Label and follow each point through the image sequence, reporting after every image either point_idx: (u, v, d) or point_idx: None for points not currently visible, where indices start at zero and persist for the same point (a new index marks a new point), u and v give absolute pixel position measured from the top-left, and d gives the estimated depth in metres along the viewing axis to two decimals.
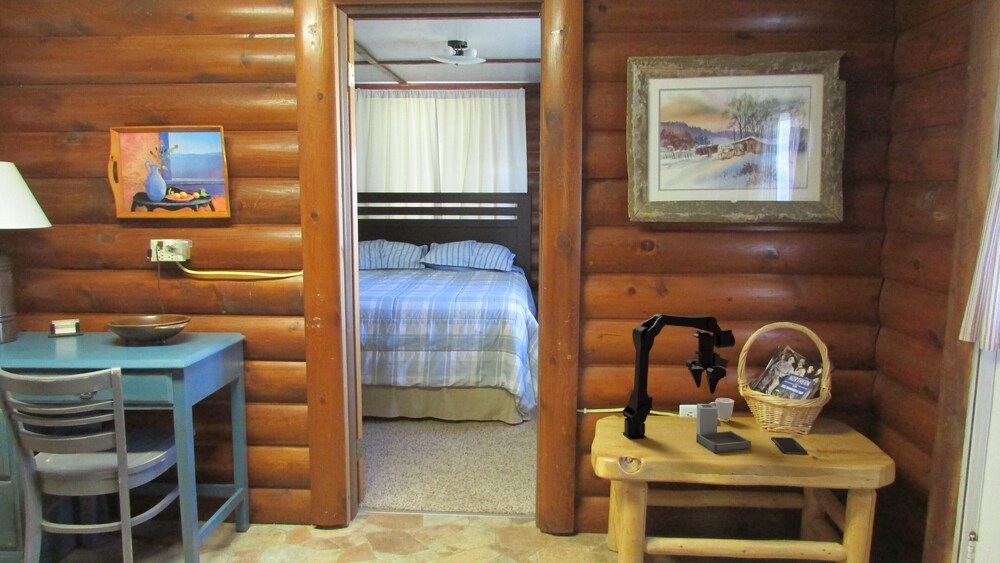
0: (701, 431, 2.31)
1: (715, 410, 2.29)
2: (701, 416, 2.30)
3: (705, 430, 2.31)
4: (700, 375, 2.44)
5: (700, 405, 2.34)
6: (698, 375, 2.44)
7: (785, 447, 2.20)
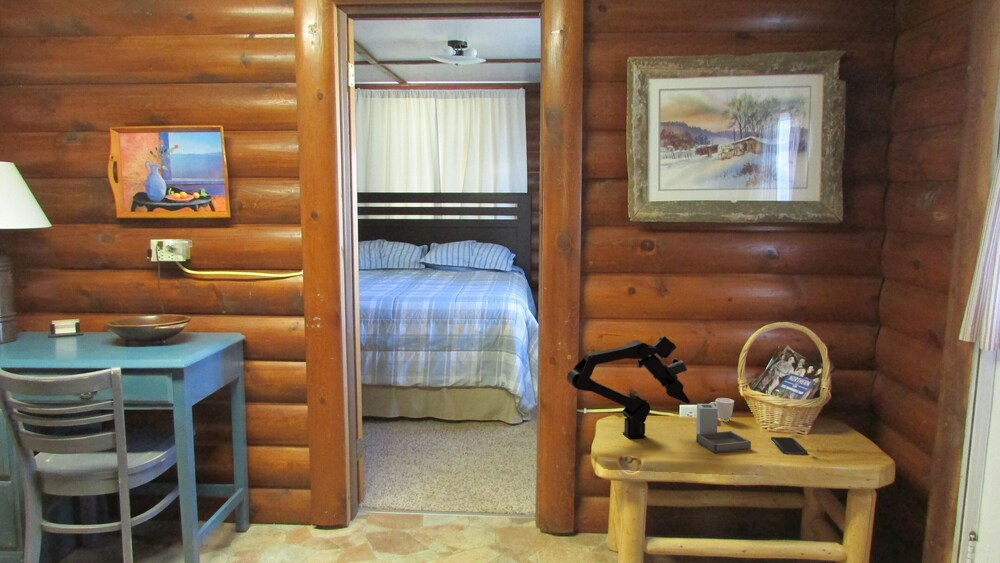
0: (701, 431, 2.31)
1: (715, 410, 2.29)
2: (701, 416, 2.30)
3: (705, 430, 2.31)
4: None
5: (700, 405, 2.34)
6: None
7: (785, 447, 2.20)
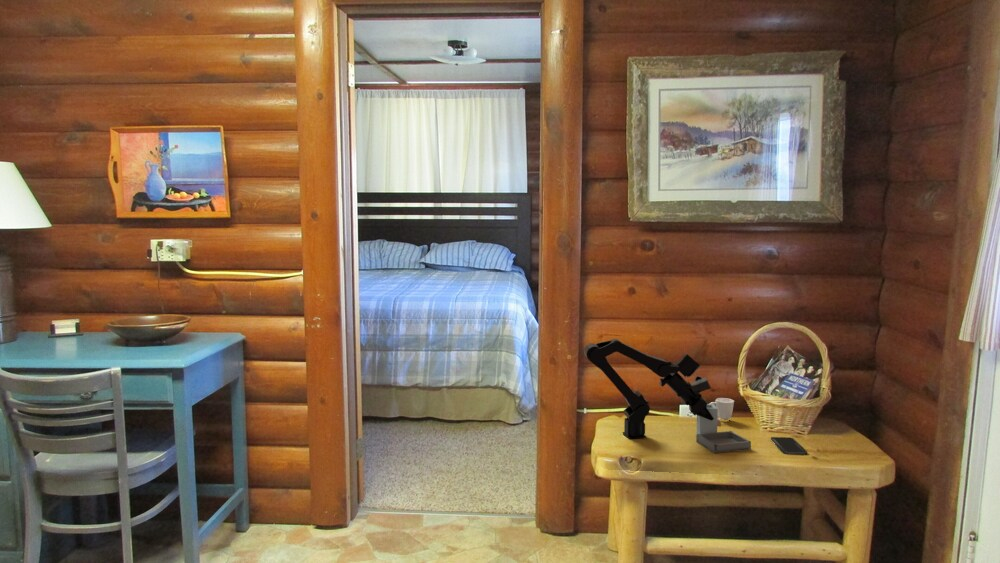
0: (701, 431, 2.31)
1: (715, 410, 2.29)
2: None
3: (705, 430, 2.31)
4: None
5: None
6: None
7: (785, 447, 2.20)
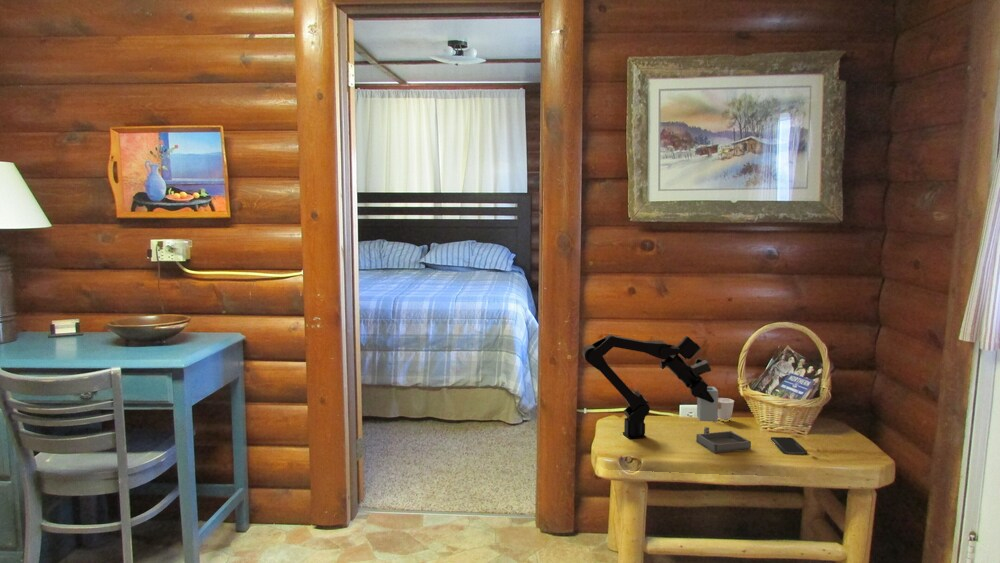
0: (702, 413, 2.30)
1: (716, 392, 2.29)
2: None
3: (706, 412, 2.30)
4: None
5: None
6: None
7: (785, 447, 2.20)
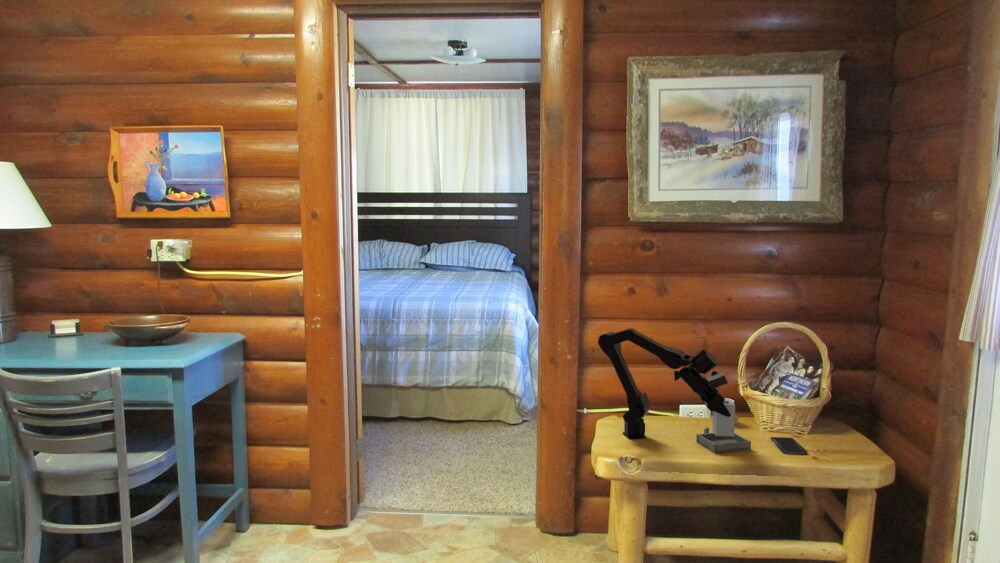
0: (718, 428, 2.20)
1: (732, 406, 2.19)
2: None
3: (722, 427, 2.20)
4: None
5: None
6: None
7: (785, 447, 2.20)
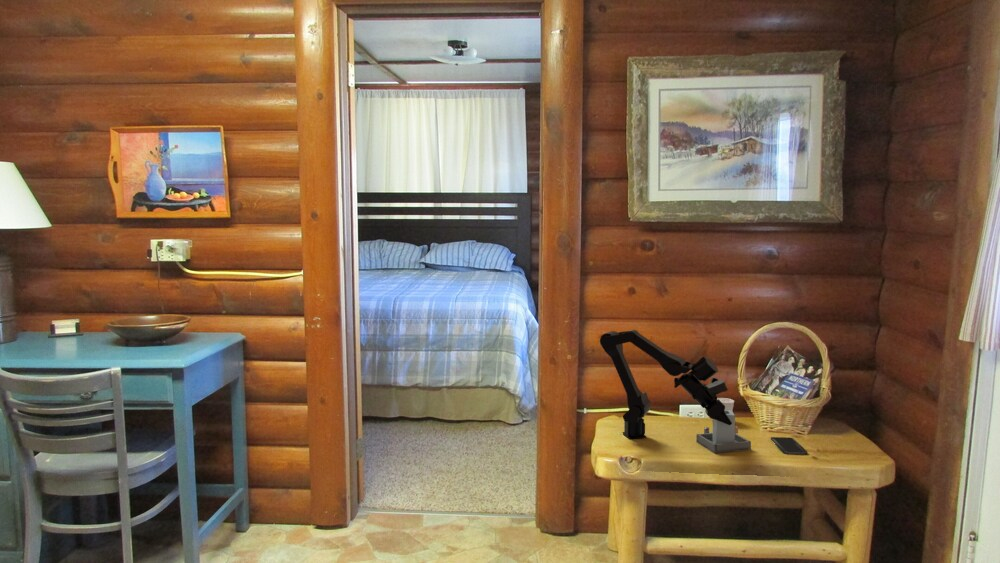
0: (718, 438, 2.21)
1: (732, 416, 2.19)
2: (718, 423, 2.20)
3: (722, 437, 2.20)
4: None
5: None
6: None
7: (785, 447, 2.20)
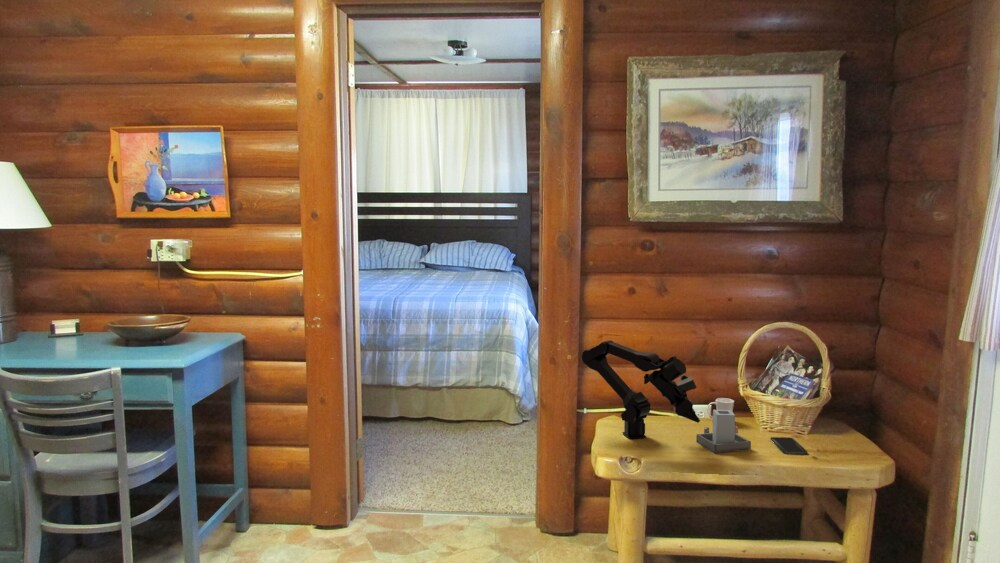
0: (718, 438, 2.21)
1: (732, 416, 2.19)
2: (718, 423, 2.20)
3: (722, 437, 2.20)
4: None
5: (716, 411, 2.23)
6: None
7: (785, 447, 2.20)
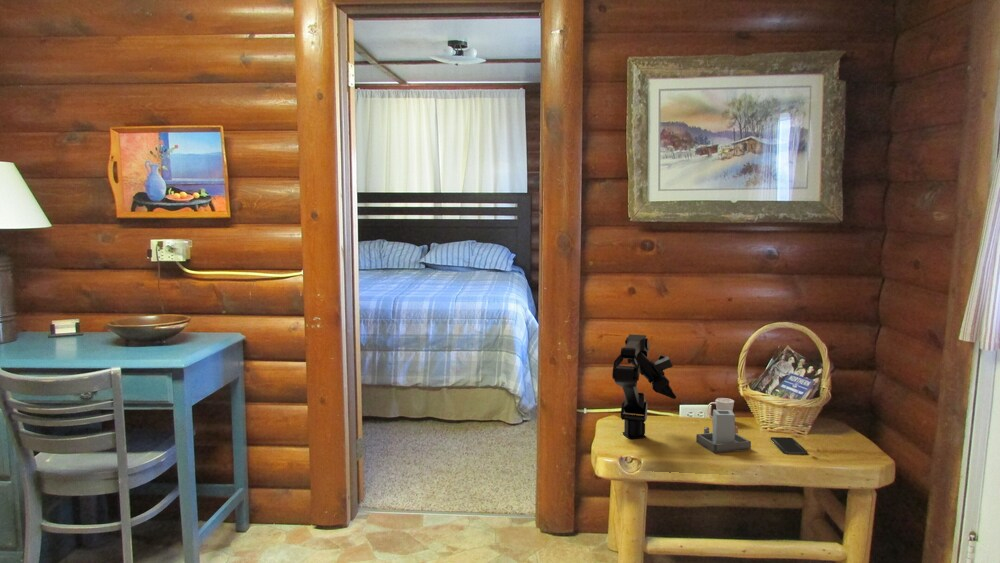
0: (718, 438, 2.21)
1: (732, 416, 2.19)
2: (718, 423, 2.20)
3: (722, 437, 2.20)
4: None
5: (716, 411, 2.23)
6: None
7: (785, 447, 2.20)
